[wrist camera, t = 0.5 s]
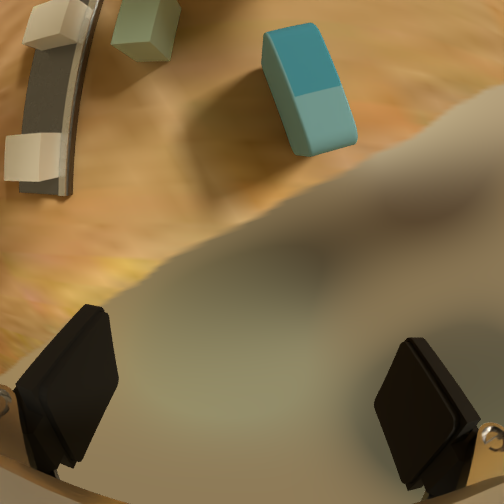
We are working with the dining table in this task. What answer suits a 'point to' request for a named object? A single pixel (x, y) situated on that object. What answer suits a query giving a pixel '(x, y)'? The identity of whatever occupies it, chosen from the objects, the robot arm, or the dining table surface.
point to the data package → (307, 90)
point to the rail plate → (59, 100)
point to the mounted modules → (43, 144)
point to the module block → (146, 29)
